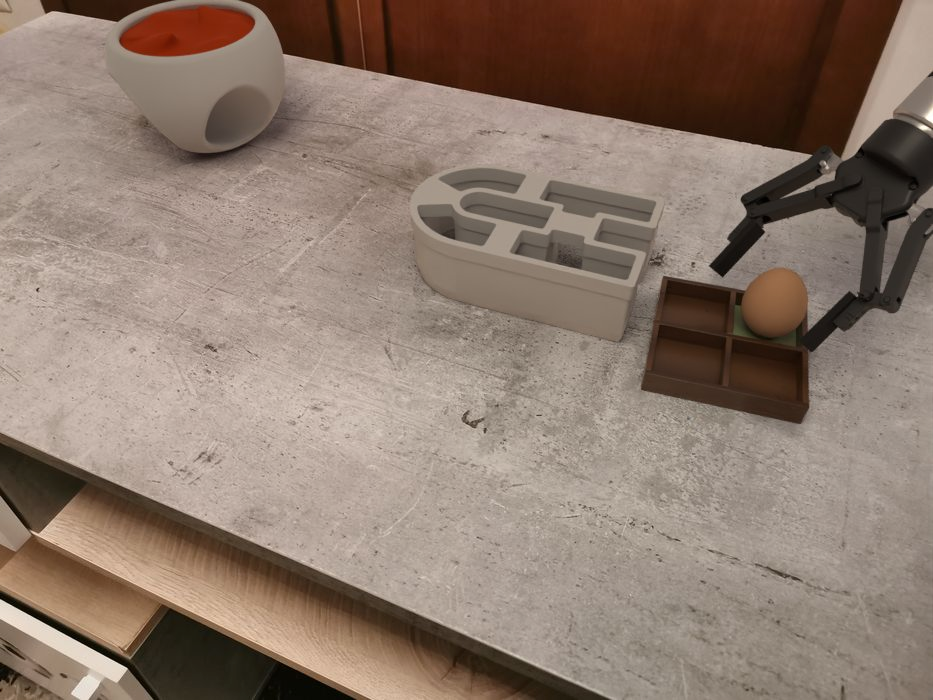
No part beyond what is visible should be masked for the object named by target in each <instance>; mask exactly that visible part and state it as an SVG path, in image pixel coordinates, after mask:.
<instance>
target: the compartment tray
mask: <svg viewBox="0 0 933 700" xmlns="http://www.w3.org/2000/svg"><path fill="white" fill-rule="evenodd" d="M745 291H746V289H740V288H734V287H728V286H723V285H718V284H712V283H706V282H701V281H695V280H690V279H685V278H679V277H674V276H668V275H662V279H661V282H660V288H659V291H658V297H657V301H656V307H655V312H654V316H653V317H654V318H653V321H652V322H653V323H652V327H651V333H650V339H649V344H648V347H647V348H648V349H647V353H646V359H645V364H644V370H643V374H642V380H641V384H640V390H641V391H645V392H650V393H654V394H660V395H665V396H669V397H673V398H678V399H682V400H686V401H687V400H689V401H692V402H697V403H701V404H706V405H711V406H714V407H721V408H725V409H730V410H734V411H738V412H743V413H748V414H753V415H756V416H757V415H758V416H763V417H767V418H771V419H775V420H781V421H786V422H790V423H795V424H800V425H801V424H802V422H803V421H804V419H805V417H806V415H807V413H808V411H809V409H810V372H809V350H808V349H807V348H806V347H805V346H804V345H802V344H801V343H800V342H799V340H800V339H801V338H802V337H803V336H804V335H805V334H806V333H807V332H808V331H809V322H808V321H809V320H808V317H809V316H808V309H807V310H806V314H805V317H804V318H803V320H802V322H801V323H800V324H799V326H798V327H797V328H795V329H794V330H793V331H791V332H790V333H788V334H786V335H784V336H780V337H773V338H769V337H763V336H760V335H758V334H756V333H754V332H753V331H752V330H751V329H750V328H749V327H748V326H747V324H746V323H745V322H744V319H743V316H742V312H741V303H742V298H743V295H744V293H745Z"/></svg>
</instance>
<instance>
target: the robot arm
mask: <svg viewBox="0 0 933 700" xmlns="http://www.w3.org/2000/svg"><path fill="white" fill-rule="evenodd" d="M834 172H835V173H834ZM832 173H834V179H832V180H830V181H826V182H823V183H820V184H817V185H815V186H814V188H811V189H808V190H805V191H804V190H803V191H802V192H801V191H800V192H798V193H794V192H796V191H798V190H800V189H802V188H803V187H805V186H807V185H810V184H811V183H813V182H815V181H816V180H818V179H820V178H821V177H823V176H824V175H826V176H829V175H831V174H832ZM932 187H933V70H932V71H931V72H929V74H928V75H927V76H926V77H925V78H924V79H923V80H922V81H921V82H920V83H919V84H918V85H917V86H916V87H915V88H914V89H913V90H912V91H911V92H910V93H909V94H908V95H907V96H906V97H905V98H904V99H903V100H902V101H901V102H900V103H899V104H898V106H896V108H894V110H893V112H892V118H889V119H885V120H884V121H882V122H881V124H880V125H879V126H878V127H877V128H876V129H875V130H874V131H873V132H872V133H871V134H870V135H869V136H868V137H867V138H866V140H865V141H864V142H863V143H862V144H861V145H860V147H859V148H858V150H857V151H856V153H854V155H852V156H851V157H849V158H847V159H845V160H844V159H842V158H841V157H839V156H838V155H837V154H835V153H834V151H833V150H832V147H831V146H830V145H827V144H826V145H822V146H821V147H819V148H818V149H817V150H816V151H815V152H814V153H813V154H812V155H810V156H809V158H807V159H806V160H804V161H803V162H801V163H799V164H797V165H795V166H793V167H792V168H790V169H788V170H786V171H784V172H783V173H781V174H779V175H777V176H775V177H773V178H771V179H770V180H768V181H766V182H764V183H762V184H760V185H758V186H756V187H755V188H753V189H751V190H749V191H747V192H745V193H744V194H742V195H741V196H740V202H741V204H742V206H743V207H744V209H745V211H746V214H745V216H744V218H743V219H742V220H741V221H740V222H739V223H738V224H737V225H736V226H735V228H734V229H732V230H731V232H729V234H728V235H727V237H726V239H727V240H728V242H729V243H727V245H726V246H725V248H723V249H722V251H721V252H720V253H719V254H718V255H717V256H716V257H715V258H714V259H713V260H712V261H711V263H709V265H708V267H709V268H710V269H712V271H714V273H716V274H717V275H718V276H720V277H721V278H724V277H725V276H726V275H727V274H728V273H729V272H730V271H731V270H732V269H733V267H734V266H735V265H736V264H737V263H738V262H739V261H740V260H741V259H742V258H743V257H744V256H745V255H746V254H747V252H749V251H750V249H751V248H752V247H753V246H755V244H756V243H757V242H758V241H759V240H760V239H761V238H762V237H763V236H764V234H765V233H766V231H765V230H764V228H765V227H764V226H765V225H768V224H771V223H775V222H779V221H782V220H786V219H790V218H792V217H796V216H800V215H803V214H807V213H811V212H815V211H817V210H822V209H824V210H829V209H833V208H835V210H836V211H837V213H839V214H841V215H842V216H843V217H847V218H850V219H851V220H852V221H853V222H854V224H855V225H857V226H858V227H860V228H865V239H864V248H863V255H862V264H861V273H860V282H859V290H858V291H857V292H856V294H857V295H855V293H853V292H852V291H851V290H848V292H846V293H845V294H844V295H843V296H842V297H841V298H840V299H839V300H838V301H837V302H836V303H835V304H834V305H833V306H832V307H831V308H830V309H829V310H828V311H827V312H826V313H825V314H824V315H823V316H822V317H821V318H820V319H819V320H818V321H817V322H816V323H815V324H814V325H813V326H812V327H811V328H810V329H808V332H807V333H806V334H805V335H804V336H803V337H802V338H801V339H800V340H799V342H800V343H801V344H802V345H804V346H805V347H806V348H807V349H808V352H811V353H813V352H814V351H815V350H817V348H818V347H819V346H821V345H822V344H823V343H824V342H825V341H826V340H827V339H828V338H829V337H830V336H831V335H832V334H833V333H834V332H835V331H836V330H837V329H839V330H841V331H842V332H847V331H849V330H851V328H853V327H854V326H855V325H856V324H857V323H858V322H859V321H860V320H861V319H862V318H863V317H865V315H866V314H867V313H868V312H869V311H871V310H873V309H877V310H882V311H884V312H887V314H891V315H892V314H896V313H898V312H899V311H900V309H901V306H902V304H903V301H904V298H905V297H906V294H907V291H908V288H909V287H910V283H911V281H912V278H913V276H914V274H915V271H916V269H917V266H918V263H919V261H920V258H921V256H922V253H923V251H924V249H925V246H926V244H927V241H928V240H929V239H930V238H931V237H932V236H933V207H927V208H924V207H923V206H920V205H919V204H917V203H918V201H919V200H920V198H921V197H922V196H924V195H925V194H926V193H928V192H929V190H930V189H932ZM792 193H794V194H792ZM790 194H792V195H790ZM908 216H909V217H908ZM906 217H908V220H907V224H906V225H907V226H908V229H907V230H906V233H905V235H904V238H903V241H902V243H901V245H900V247H899V250H898V253H897V255H896V257H895V260H894V262H893V265H892V268H891V271H890V273H889V276H888V278H887V280H886V283H885V285H884V288H883V290H882V292H881V286H882V277H883V267H884V259H885V250H886V241H887V239H888V235H889V225H890V222H892V221H893V222H894V221H896V220H899V219H903V218H906Z"/></svg>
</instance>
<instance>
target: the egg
mask: <svg viewBox="0 0 933 700" xmlns="http://www.w3.org/2000/svg"><path fill="white" fill-rule="evenodd" d="M745 290H746V291H745V293H744V295H743V298H742V303H741V312H742V316H743V319H744V322H745V323H746V324H747V326H748V327H749V328H750V329H751V330H752V331H753V332H754V333H756V334H758V335H760V336H763V337H769V338H773V337H780V336H784V335H786V334H788V333H790V332H791V331H793V330H794V329H795V328H797V327H798V326H799V324H800V323H801V322H802V320H803V318H804V317H805V314H806V310H808V307H809V296H808V294H809V293H808V288H807V286H806V284H805V282H804V280H803V278H802V277H801V276H800V275H799V273H797V272H795V271H793V270H792V269H790V268H785V267H774V268H770V269H767V270H766V271H763V272H762V273H760V274H759V275H757V277H755V278H754V279H753V280H751V282H750V283H749V285H748V286H747V287H746V288H745Z"/></svg>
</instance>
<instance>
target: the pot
mask: <svg viewBox="0 0 933 700" xmlns="http://www.w3.org/2000/svg"><path fill="white" fill-rule="evenodd" d="M104 41H105V42H104V60H105V61H104V62H105V67H106V71H107V73H108V75H109V76H110V77H111V78H112V80H113V81H114V82H115V83H116V84H117V85H118V86H119V88H120V89H121V90H122V92H123V93H124V94H125V95H126V96H127V98H128V99H129V100H130V101H131V102H132V103H133V104H132V105H134V106H135V107H136V108H137V110H138V111H139V112H140V113H141V114H142V115H143V116H144V117H145V119H146V120H148V122H150V123H151V125H153V127H155V129H157V130H158V131H159V132H160V133H161V134H162V135H163V136H164V137H165V138H167V139H168V140H169V141H170V142H172V143H173V144H174V145H175V146H177V147H178V148H180V149H181V150H183V151H187V152H191V153H199V154H211V153H212V154H214V153H222V152H227V151H230V150H234V149H236V148H239V147H241V146H243V145H245V144H247V143H249V142H251V140H253V139H255V138H256V137H257V136H258V135H260V134H261V133H262V132H263V131H264V130H265V129H266V127H267V126H268V125H269V124H270V122H271V121H272V119H273V118H274V116H275V114H276V113H277V111H278V109H279V106H280V104H281V101H282V98H283V95H284V91H285V84H286V83H285V82H286V64H285V58H284V53H283V48H282V45H281V41H280V39H279V37H278V34H277V31H276V30H275V28H274V26H273V25H272V23H271V20H269V18H268V16H267V15H266V13H264V12H263V10H261V9H260V8H259V7H257V6H255V5H253V4H251V3H248V2H245V1H243V0H171V1H165V2H161V3H157V4H153V5H151V6H147V7H144V8H142V9H139V10H137V11H135V12H132V13H130V14H128V15H127V16H124V17H123V18H122V19H120V20H119V21H117V22H116V23H115V24H114V25H113V26H112V27H111V28H110V29H109V30H108V32H107V34H106V36H105V40H104Z"/></svg>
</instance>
